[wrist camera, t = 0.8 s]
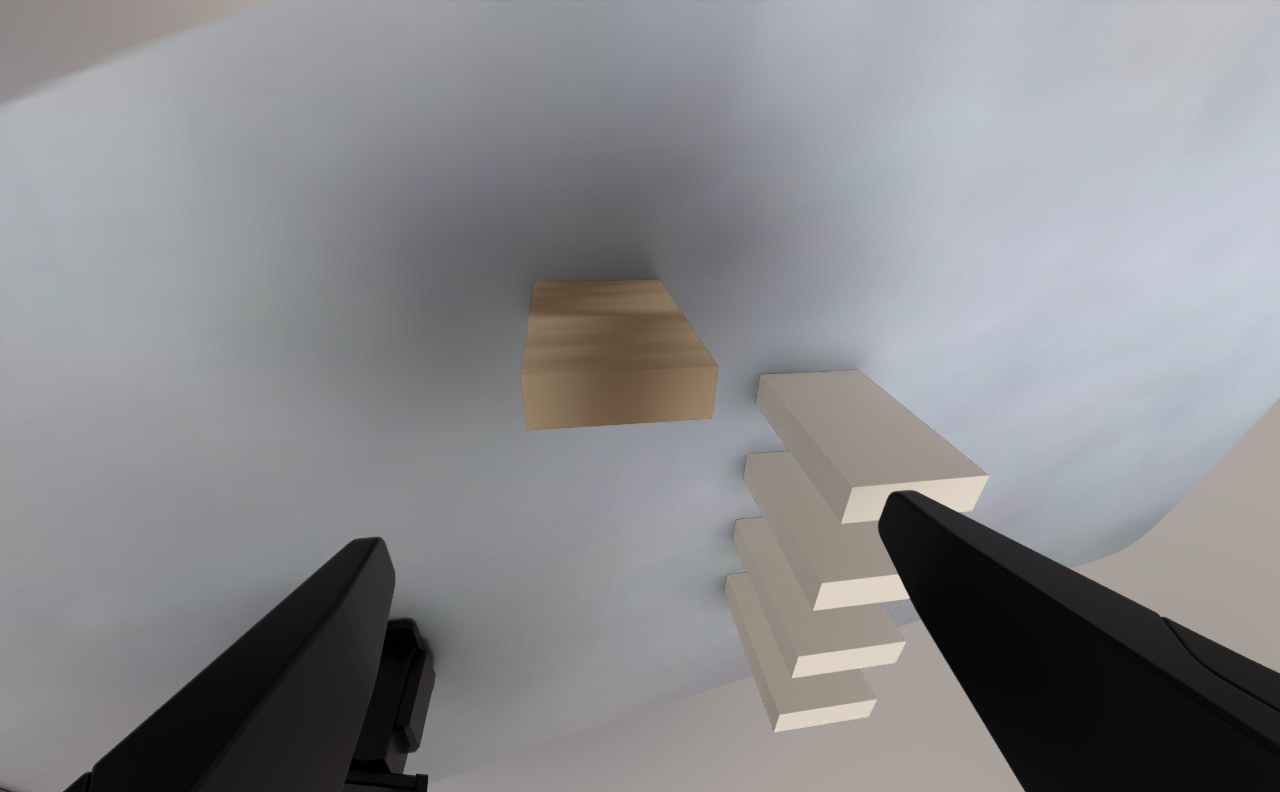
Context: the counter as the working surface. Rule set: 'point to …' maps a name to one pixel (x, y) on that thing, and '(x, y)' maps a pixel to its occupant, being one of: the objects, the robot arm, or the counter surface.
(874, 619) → the domino
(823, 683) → the domino
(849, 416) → the domino
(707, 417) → the maple domino
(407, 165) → the counter surface
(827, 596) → the domino
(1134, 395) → the counter surface
